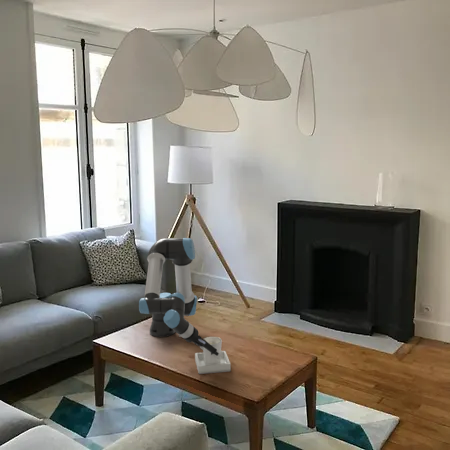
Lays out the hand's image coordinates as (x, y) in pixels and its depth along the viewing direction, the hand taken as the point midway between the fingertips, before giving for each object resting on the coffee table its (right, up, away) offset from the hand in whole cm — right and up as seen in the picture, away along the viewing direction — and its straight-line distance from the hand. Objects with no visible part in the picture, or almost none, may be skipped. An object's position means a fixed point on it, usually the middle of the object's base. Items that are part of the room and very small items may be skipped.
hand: (214, 354), depth 265 cm
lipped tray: (-1, -6, 0) cm, 6 cm away
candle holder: (-1, -5, 0) cm, 5 cm away
